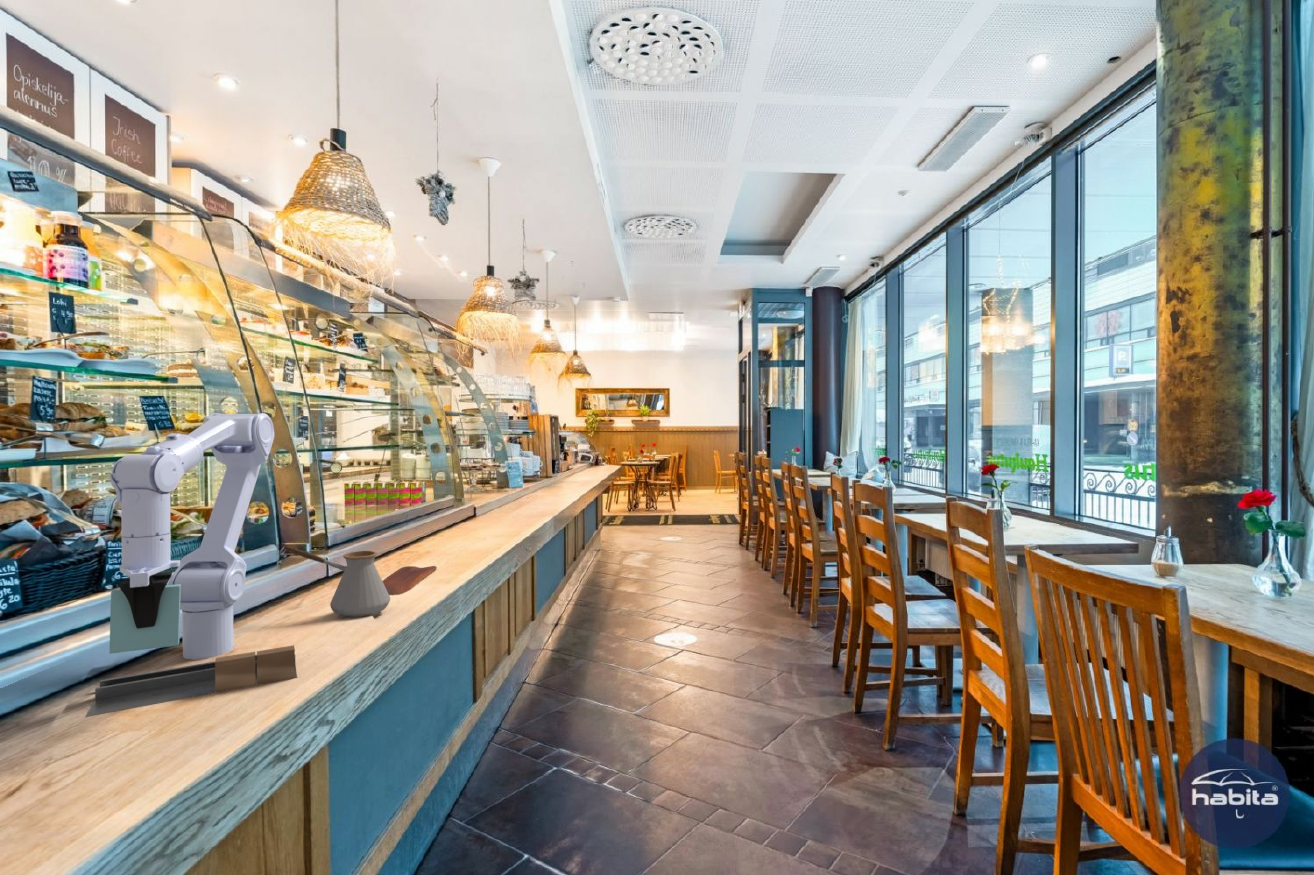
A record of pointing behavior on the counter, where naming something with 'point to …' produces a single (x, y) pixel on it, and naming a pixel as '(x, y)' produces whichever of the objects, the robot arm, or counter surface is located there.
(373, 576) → the coffee pot
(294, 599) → the counter surface
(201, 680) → the rack
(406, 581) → the wooden tablet
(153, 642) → the teal slab
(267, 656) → the offcut
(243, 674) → the offcut
